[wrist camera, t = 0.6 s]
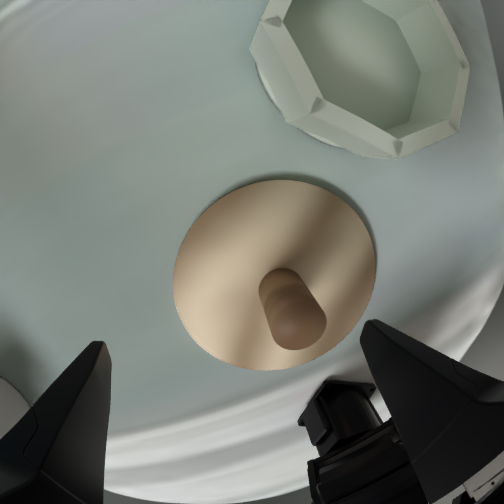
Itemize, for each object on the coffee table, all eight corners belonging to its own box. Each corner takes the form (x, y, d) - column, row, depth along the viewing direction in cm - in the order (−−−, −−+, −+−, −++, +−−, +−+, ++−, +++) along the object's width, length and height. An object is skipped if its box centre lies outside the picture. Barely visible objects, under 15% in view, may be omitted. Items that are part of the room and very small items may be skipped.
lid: (397, 221, 21) (445, 243, 16) (321, 373, 25) (343, 419, 20) (211, 148, 18) (209, 144, 12) (156, 339, 22) (143, 392, 16)
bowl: (431, 44, 16) (474, 30, 11) (395, 178, 20) (443, 189, 15) (288, -34, 13) (308, -74, 8) (224, 105, 17) (229, 86, 12)
